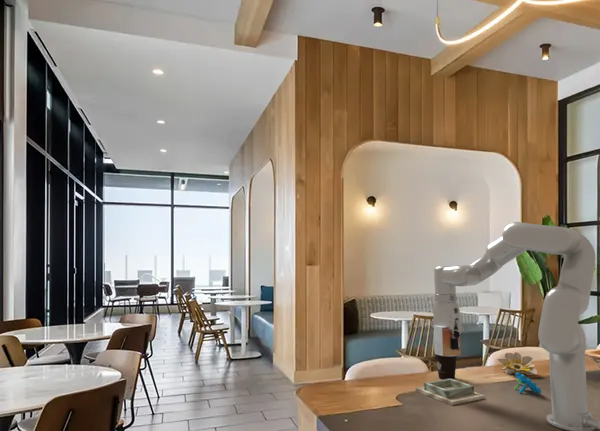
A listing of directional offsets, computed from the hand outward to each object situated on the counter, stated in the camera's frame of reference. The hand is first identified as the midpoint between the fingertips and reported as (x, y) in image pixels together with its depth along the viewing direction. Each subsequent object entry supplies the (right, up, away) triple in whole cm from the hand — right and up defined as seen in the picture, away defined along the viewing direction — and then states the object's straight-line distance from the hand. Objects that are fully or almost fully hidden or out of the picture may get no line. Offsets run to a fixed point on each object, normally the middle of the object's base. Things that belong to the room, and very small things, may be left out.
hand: (447, 347), depth 162 cm
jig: (0, -17, -1) cm, 17 cm away
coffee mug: (+7, -20, +22) cm, 31 cm away
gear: (+31, -18, +1) cm, 35 cm away
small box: (0, -3, 0) cm, 3 cm away
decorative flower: (+39, -20, +27) cm, 52 cm away
